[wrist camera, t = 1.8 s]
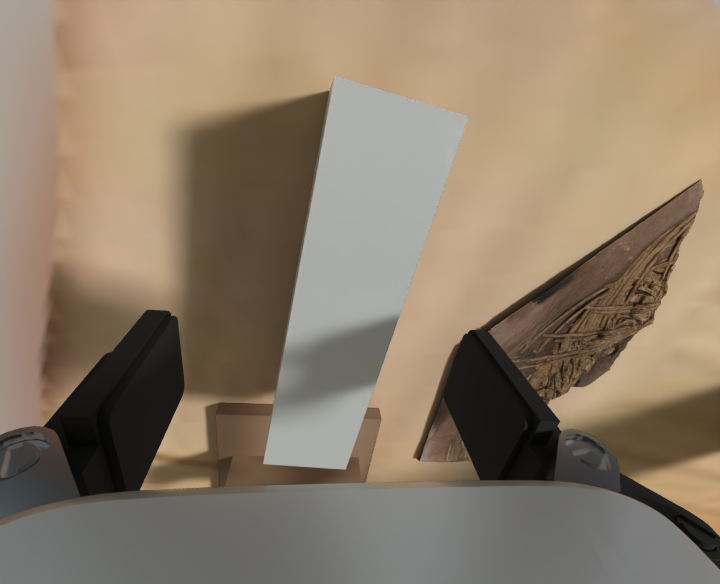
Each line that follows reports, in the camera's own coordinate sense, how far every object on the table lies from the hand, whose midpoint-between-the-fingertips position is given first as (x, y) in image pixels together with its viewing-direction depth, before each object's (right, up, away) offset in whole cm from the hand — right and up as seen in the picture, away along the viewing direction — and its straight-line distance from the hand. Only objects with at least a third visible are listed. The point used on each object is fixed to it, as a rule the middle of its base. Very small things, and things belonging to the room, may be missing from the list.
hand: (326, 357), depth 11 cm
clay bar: (0, +4, +8) cm, 9 cm away
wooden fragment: (+14, -2, +13) cm, 19 cm away
